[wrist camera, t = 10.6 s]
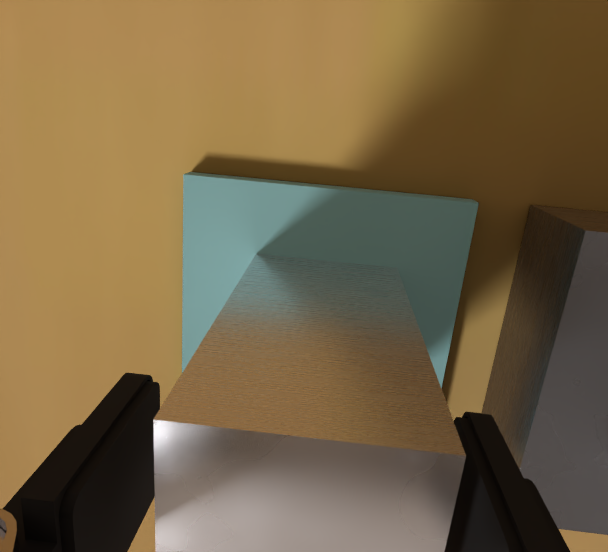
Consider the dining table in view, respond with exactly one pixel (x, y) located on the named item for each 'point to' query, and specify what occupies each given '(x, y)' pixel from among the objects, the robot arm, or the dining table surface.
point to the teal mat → (323, 244)
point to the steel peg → (308, 421)
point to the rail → (558, 365)
